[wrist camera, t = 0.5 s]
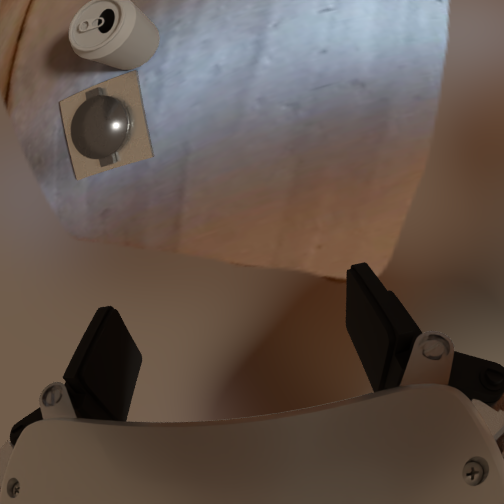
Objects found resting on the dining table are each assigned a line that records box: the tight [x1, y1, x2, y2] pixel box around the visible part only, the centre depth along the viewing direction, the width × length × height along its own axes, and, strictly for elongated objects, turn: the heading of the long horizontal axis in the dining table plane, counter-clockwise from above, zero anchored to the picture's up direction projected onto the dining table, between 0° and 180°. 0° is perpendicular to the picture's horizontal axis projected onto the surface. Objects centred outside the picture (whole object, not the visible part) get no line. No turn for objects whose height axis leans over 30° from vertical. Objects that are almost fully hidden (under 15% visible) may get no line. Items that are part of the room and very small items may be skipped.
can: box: [68, 0, 160, 70], centre depth 22 cm, size 8×8×12 cm
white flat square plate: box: [60, 70, 154, 180], centre depth 31 cm, size 12×12×2 cm
